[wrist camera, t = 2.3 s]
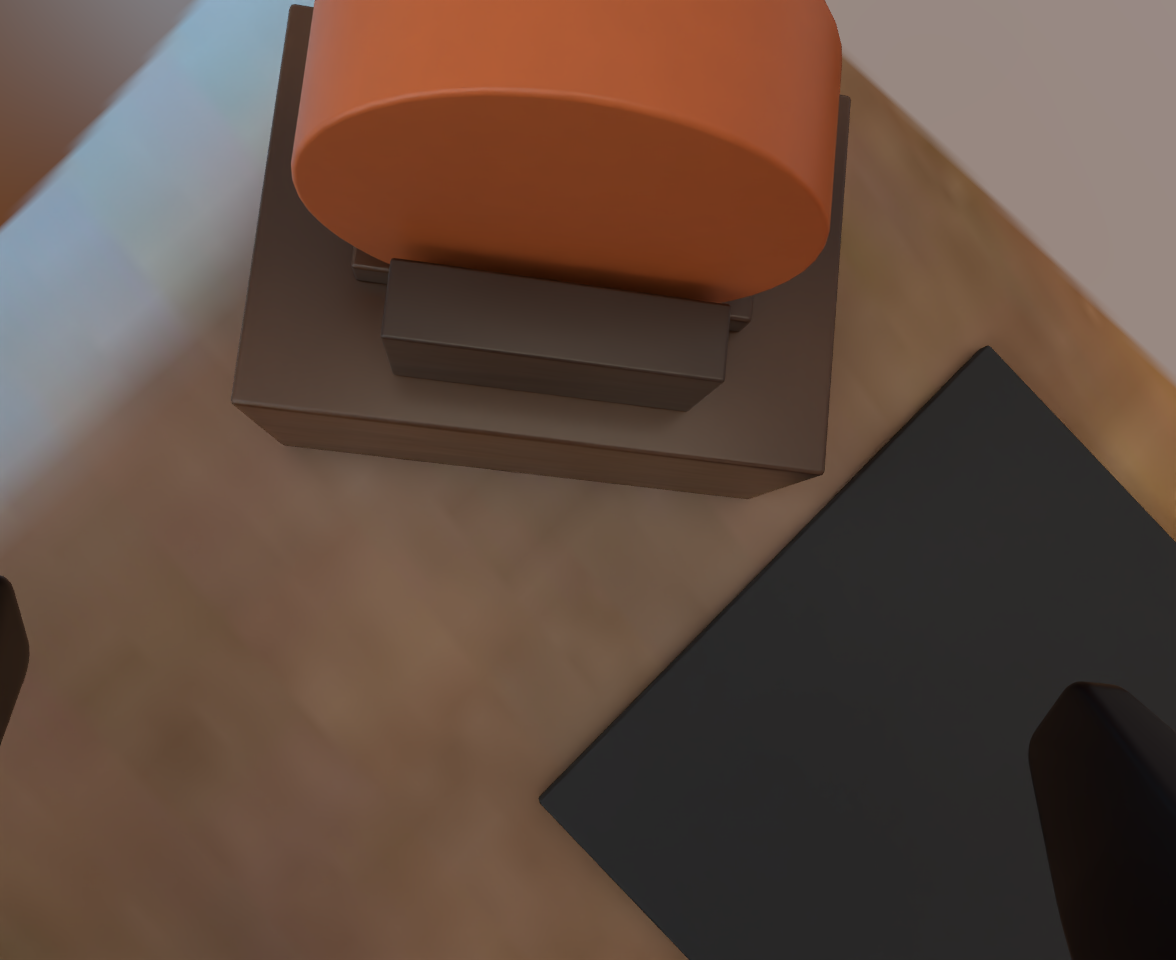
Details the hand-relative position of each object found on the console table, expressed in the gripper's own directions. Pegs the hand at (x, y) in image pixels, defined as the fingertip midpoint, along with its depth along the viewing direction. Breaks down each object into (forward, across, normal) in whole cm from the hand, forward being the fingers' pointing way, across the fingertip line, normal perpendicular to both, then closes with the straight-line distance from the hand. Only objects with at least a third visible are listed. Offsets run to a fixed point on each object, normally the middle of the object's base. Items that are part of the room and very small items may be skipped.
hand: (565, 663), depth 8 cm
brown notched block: (+13, 0, +4) cm, 14 cm away
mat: (+5, -13, +12) cm, 18 cm away
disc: (+10, 0, +1) cm, 10 cm away
